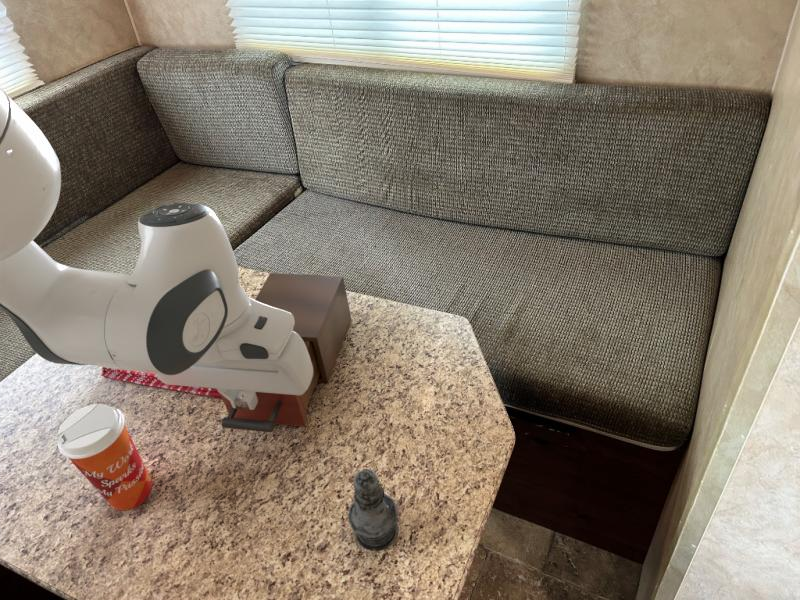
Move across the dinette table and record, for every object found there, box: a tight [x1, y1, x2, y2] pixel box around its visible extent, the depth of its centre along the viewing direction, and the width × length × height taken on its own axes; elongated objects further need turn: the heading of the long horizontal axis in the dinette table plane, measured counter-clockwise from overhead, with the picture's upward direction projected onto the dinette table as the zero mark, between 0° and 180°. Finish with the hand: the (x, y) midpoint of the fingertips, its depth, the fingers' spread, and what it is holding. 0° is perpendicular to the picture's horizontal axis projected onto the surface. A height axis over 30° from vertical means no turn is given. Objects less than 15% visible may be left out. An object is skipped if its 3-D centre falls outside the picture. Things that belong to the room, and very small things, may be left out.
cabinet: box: [254, 272, 352, 384], centre depth 97 cm, size 15×13×10 cm
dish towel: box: [100, 367, 223, 400], centre depth 100 cm, size 17×24×3 cm
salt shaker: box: [347, 468, 399, 552], centre depth 69 cm, size 6×6×12 cm
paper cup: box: [57, 403, 153, 511], centre depth 77 cm, size 8×8×14 cm
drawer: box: [221, 341, 321, 433], centre depth 87 cm, size 18×11×8 cm, turn 169°
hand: (246, 405), depth 80 cm, fingers closed
